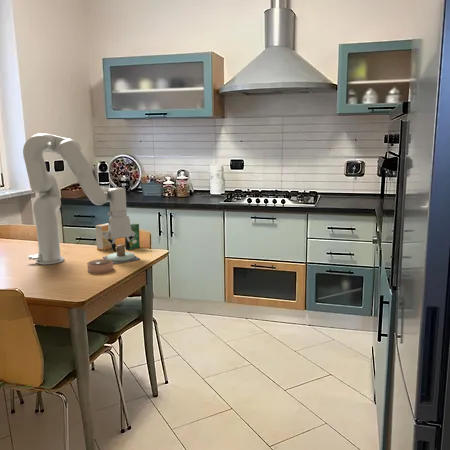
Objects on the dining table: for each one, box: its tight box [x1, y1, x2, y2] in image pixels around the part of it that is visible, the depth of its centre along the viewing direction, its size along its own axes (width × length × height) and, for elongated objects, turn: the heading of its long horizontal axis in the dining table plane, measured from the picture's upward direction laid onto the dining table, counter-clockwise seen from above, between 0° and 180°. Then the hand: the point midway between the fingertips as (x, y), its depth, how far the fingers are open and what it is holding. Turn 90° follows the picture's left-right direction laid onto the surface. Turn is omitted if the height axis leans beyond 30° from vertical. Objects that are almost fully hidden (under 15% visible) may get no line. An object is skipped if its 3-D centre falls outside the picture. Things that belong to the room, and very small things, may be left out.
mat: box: [102, 255, 141, 265], centre depth 229 cm, size 14×14×1 cm
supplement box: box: [95, 222, 112, 251], centre depth 249 cm, size 8×5×13 cm, turn 148°
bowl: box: [86, 258, 114, 275], centre depth 211 cm, size 11×11×4 cm
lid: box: [106, 243, 136, 261], centre depth 228 cm, size 13×13×6 cm
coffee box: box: [124, 222, 141, 251], centre depth 248 cm, size 8×3×13 cm, turn 142°
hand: (120, 250), depth 228 cm, fingers open, 5 cm apart
